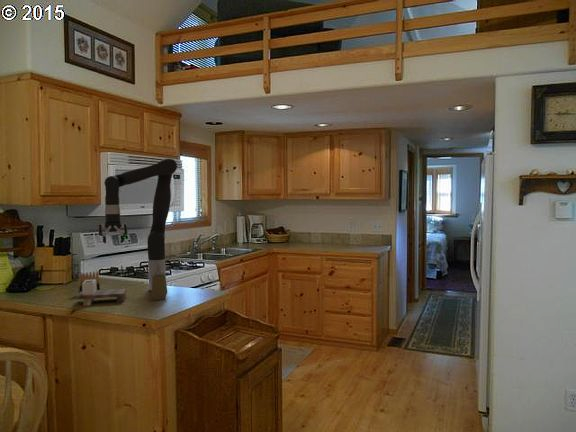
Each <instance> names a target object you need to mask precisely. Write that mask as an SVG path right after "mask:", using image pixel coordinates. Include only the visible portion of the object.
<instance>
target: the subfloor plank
mask: <svg viewBox="0 0 576 432" xmlns="http://www.w3.org/2000/svg"><path fill="white" fill-rule="evenodd" d="M126 294H127V288H118V289H116V288H114V289H100V290H97V291H96V292H95V293H94V295H83V293H82V291H81V292H80V293H79V292H78V294H77V295H76V297H75V300H76V301H77V300H82V303H83V304H82V306H83V307H88V306H91V305H92V304H93V302H95V300H96V299H107V298H116V303H124V301H125V299H126V296H127V295H126Z"/></svg>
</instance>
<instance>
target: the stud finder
mask: <svg viewBox="0 0 576 432" xmlns="http://www.w3.org/2000/svg"><path fill="white" fill-rule="evenodd" d="M96 291H97V286H96V278H95V280H86V279H85V281H84V282H83V283H82V293H83V295H94V293H95V292H96Z"/></svg>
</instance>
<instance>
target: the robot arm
mask: <svg viewBox="0 0 576 432" xmlns="http://www.w3.org/2000/svg"><path fill="white" fill-rule="evenodd" d="M177 169H178V164H177V162H176V160H174V159H173V158H171V157H169V158H168V157H167V158H163V159H161V160H160V161H159V162H157V163H154V164H150V165H149V166H145V167H140V168H139V167H138V168H136V169H131V170H128V171H124V172H122V173H119V174H114V175H110V176H107V177H106V178H105V179H104V181H103V182H104V184H103V185H104V186H105V197H104V198H105V199H104V201H105V203H104V204H105V207H104V217H105V218H104V219H105V223H104V224H102V223H101V224H99V226H98V235H99V236H100V237H102V242H103V244H107V234H108V233H113V232H114V233H116V232H118V234H120V243H124V242H125V236H126V235H128V224H127V223H121V205H120V196H119V195H120V188H121V187H123V186H124V187H125V186H128V185H132V184H135V183H138V182H142V181H145V180H148V179H150V178H153V177H157V184H156V187H155V191H154V192H155V193H154V196H153V203H152V222H151V223H152V224H151V227H150V232H149V235H147V236H148V237H147V241H146V242H147V256H148V257H147V259H148V260H147V262H148V263H147V265H148V266H147V268H148V289H149V291H152V278H153V276H155V275H154V272H155V271H156V270H157V265H158V264H160V267H161V271H164V274H163V275H165V276H167V275H166V274H167V273H166V248H165V246H166V245H165V244H166V243H165V242H166V241H165V239H166V236H165V232H166V224H167V219H168V215H169V212H170V206H171V199H172V193H171V181H172V179H173V178H172V177H173V174H174V173H175V172H176V171H177ZM121 227H122V228H123V230H124V232H123V230H121ZM104 228H105V231H104V232H103V229H104Z"/></svg>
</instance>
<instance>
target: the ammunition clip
mask: <svg viewBox="0 0 576 432" xmlns="http://www.w3.org/2000/svg"><path fill="white" fill-rule="evenodd" d="M95 279H96V286H97V290H101V288H100V276H99V271H98V270H97V271H96V272H95V271H93V272H92V271H90V272H86V274H85V272H82V273H81V272H80V273H79V275H78V294H79V293H80V292H81V291H82V283H83V282H84V281H85V280H95Z"/></svg>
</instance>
